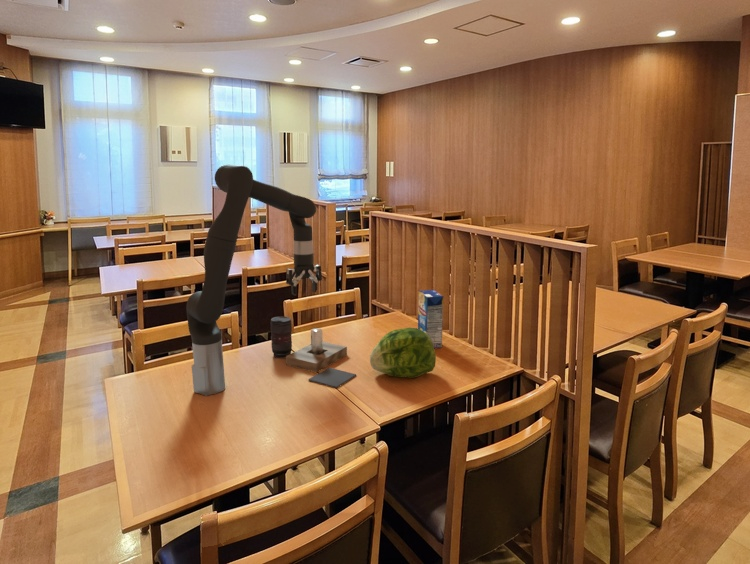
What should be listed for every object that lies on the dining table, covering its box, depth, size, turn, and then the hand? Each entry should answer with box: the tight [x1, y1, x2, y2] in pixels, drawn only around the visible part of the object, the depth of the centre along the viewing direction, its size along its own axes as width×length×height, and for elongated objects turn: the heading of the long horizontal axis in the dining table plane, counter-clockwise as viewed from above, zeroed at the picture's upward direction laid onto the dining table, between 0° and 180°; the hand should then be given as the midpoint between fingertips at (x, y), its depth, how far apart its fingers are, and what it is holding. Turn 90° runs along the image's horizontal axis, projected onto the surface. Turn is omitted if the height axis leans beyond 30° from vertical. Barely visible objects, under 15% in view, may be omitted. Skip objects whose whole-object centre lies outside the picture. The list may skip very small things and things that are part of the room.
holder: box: [285, 341, 348, 373], centre depth 191 cm, size 20×14×4 cm
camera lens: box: [270, 315, 293, 359], centre depth 195 cm, size 8×8×15 cm
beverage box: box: [417, 289, 444, 349], centre depth 206 cm, size 7×11×22 cm, turn 14°
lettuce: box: [369, 327, 437, 379], centre depth 176 cm, size 18×23×19 cm
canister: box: [310, 327, 324, 355], centre depth 190 cm, size 4×4×12 cm
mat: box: [308, 367, 357, 389], centre depth 175 cm, size 12×12×1 cm
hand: (304, 293), depth 191 cm, fingers open, 8 cm apart
